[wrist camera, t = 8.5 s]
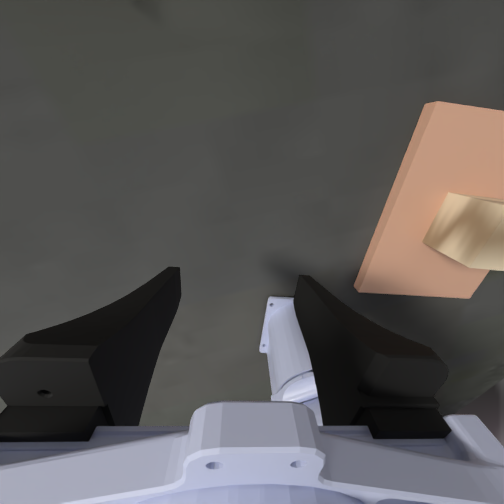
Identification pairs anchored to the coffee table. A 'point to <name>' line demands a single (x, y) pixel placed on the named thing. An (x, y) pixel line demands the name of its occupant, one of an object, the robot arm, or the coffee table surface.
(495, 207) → the maple cube
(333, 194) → the coffee table surface
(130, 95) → the coffee table surface
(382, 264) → the terracotta tile
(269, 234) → the coffee table surface
